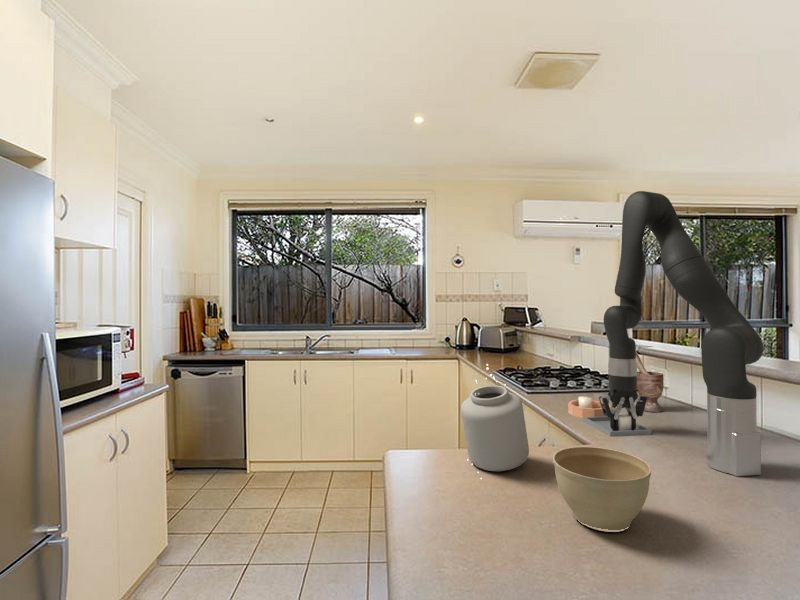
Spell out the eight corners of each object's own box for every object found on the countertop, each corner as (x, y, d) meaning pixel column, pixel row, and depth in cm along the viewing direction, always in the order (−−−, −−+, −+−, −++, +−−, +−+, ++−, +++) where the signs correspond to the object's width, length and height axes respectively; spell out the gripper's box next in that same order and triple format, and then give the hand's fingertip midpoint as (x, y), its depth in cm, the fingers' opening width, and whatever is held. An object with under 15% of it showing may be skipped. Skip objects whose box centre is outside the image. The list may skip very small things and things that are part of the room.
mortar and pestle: (623, 408, 156) (622, 352, 156) (631, 403, 162) (631, 350, 162) (659, 414, 148) (658, 355, 147) (667, 409, 154) (666, 353, 153)
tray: (651, 437, 124) (651, 430, 124) (610, 438, 123) (610, 431, 123) (620, 422, 139) (620, 415, 139) (583, 423, 138) (583, 417, 138)
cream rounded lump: (595, 412, 147) (594, 398, 147) (582, 412, 147) (582, 399, 147) (588, 409, 152) (588, 396, 152) (576, 409, 151) (576, 396, 151)
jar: (492, 487, 93) (491, 371, 93) (443, 467, 105) (442, 364, 105) (541, 464, 106) (540, 362, 105) (492, 448, 117) (491, 356, 117)
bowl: (618, 420, 141) (618, 408, 141) (580, 422, 140) (580, 409, 140) (597, 410, 154) (597, 398, 154) (562, 411, 153) (561, 400, 153)
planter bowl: (569, 492, 91) (569, 440, 91) (658, 516, 80) (658, 458, 80) (540, 524, 78) (539, 464, 78) (641, 557, 68) (640, 488, 68)
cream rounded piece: (634, 432, 126) (634, 417, 126) (620, 433, 126) (620, 417, 125) (625, 428, 130) (625, 413, 130) (611, 428, 130) (611, 413, 130)
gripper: (606, 376, 123) (607, 436, 124) (654, 374, 125) (654, 433, 125) (592, 371, 131) (593, 428, 131) (637, 370, 132) (638, 426, 132)
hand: (623, 430), depth 128 cm, fingers closed on cream rounded piece, 4 cm apart
